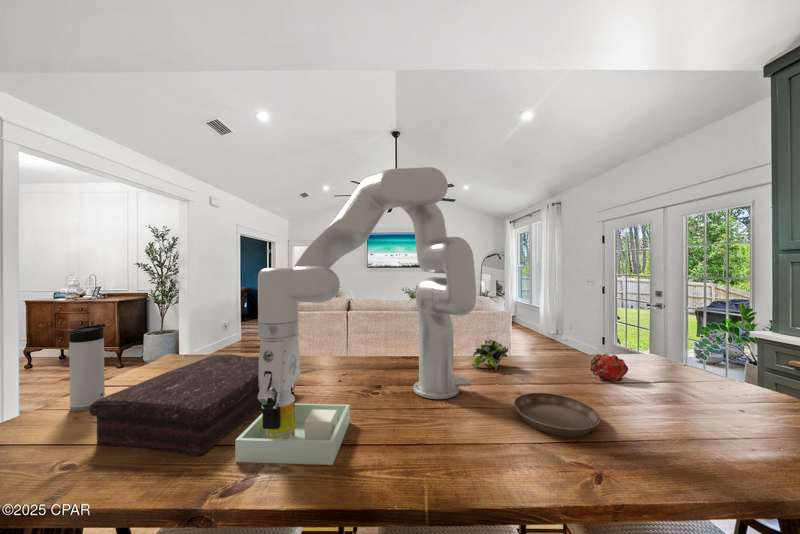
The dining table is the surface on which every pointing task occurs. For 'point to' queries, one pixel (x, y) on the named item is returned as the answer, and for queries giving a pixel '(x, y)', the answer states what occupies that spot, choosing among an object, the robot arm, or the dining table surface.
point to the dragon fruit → (608, 367)
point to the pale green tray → (293, 440)
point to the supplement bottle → (284, 417)
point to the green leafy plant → (490, 353)
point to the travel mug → (86, 366)
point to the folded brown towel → (181, 407)
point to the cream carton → (320, 424)
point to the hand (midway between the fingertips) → (279, 418)
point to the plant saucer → (557, 414)
